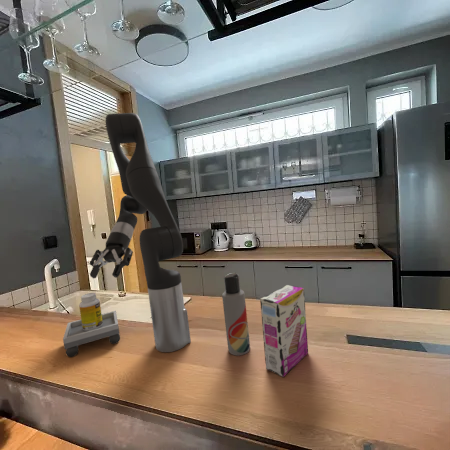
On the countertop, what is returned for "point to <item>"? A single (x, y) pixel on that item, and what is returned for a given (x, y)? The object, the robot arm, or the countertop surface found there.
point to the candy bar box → (284, 329)
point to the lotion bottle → (235, 316)
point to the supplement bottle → (90, 312)
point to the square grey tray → (90, 333)
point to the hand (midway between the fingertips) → (103, 276)
